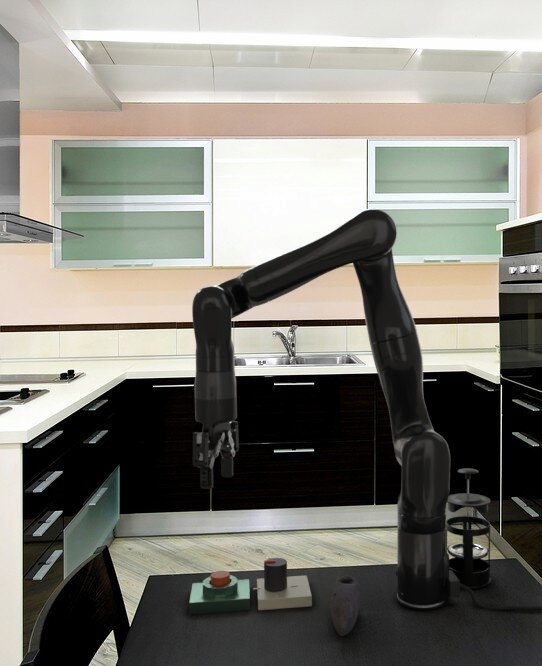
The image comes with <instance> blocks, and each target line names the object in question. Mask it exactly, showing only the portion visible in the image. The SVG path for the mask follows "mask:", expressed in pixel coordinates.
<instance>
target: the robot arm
mask: <svg viewBox="0 0 542 666" xmlns="http://www.w3.org/2000/svg"><path fill="white" fill-rule="evenodd" d="M397 235H398V229H397V225H396V222H395V221H394V219H393V218H392V217H391V216H390V214H388V213H386V211H383V210H381V209H377V208H367V209H363V210H360V211H358V212H357V213H355V214H354V215H353V216H352V217H351V218H350V219H349V220H347V221H346V222H344V223H343V224H341V225H340V226H339V227H338V226H337V228H335V229H333V230H332V231H330V232H328V233H327V234H325V235H323V236H321V237H319V238H317V239H315V240H313V241H312V242H309V243H307V244H304V245H302V246H299V247H297V248H294V249H291V250H289V251H287V252H283V253H281V254H279V255H276V256H274V257H272V258H270V259H267V260H265V261H262V262H260V263H258V264H256V265H254V266H252V267H250V268H248V269H245V270H244V271H243V272H241V273H240V274H239V275H237V276H235V277H233V278H230V279H228V280H226V281H224V282H221V283H218V284H216V285H206V286H204V287H202V288H200V289H199V290H198V291H197V292H196V293H195V294H194V297H193V299H192V304H191V312H192V313H191V314H192V316H191V317H192V326H193V333H194V340H195V377H194V418H195V421H196V423H200V424H201V425H202V429H201V432H198V431H197V432H196V431H195V432H193V433H192V467H194V468H195V467H197V468H199V487H200V489H203V490H211V489H214V463H215V459H216V458H218V457H219V455H220V456H221V457H220V475H221V477H222V478H228V479H229V478H232V477H234V457H235V456H236V452H239V450H240V442H239V441H240V440H239V422H238V420H237V418H238V398H237V396H238V395H237V394H238V393H237V391H238V390H237V377H236V365H235V364H236V363H235V361H236V359H235V346H234V342H233V340H232V338H233V337H232V320H233V319H234V318H236V317H238V316H240V315H242V314H244V313H245V312H246V313H247V312H248V311H249V310H251V309H253V308H255V307H259V306H262V305H265V304H267V303H270V302H271V301H274V300H276V299H278V298H281V297H282V296H285V295H287V294H289V293H291V292H293V291H295V290H297V289H299V288H301V287H303V286H305V285H306V284H308V283H310V282H312V281H314V280H315V279H317V278H318V279H319V277H322V276H324V275H325V274H327V273H328V274H329V272H332V271H335V270H338V269H339V268H342V267H345V266H347V265H351V264H352V265H353V268H354V271H355V274H356V277H357V280H358V284H359V287H360V292H361V298H362V307H363V313H364V314H363V315H364V322H365V327H366V332H367V336H368V342H369V346H370V350H371V355H372V358H373V362H374V366H375V369H376V372H377V376H378V380H379V383H380V387H381V389H382V392H383V396H384V398H385V401H386V405H387V409H388V414H389V421H390V429H391V437H392V445H393V452H394V456H395V459H396V461H397V462H398V464H399V465H400V466H401V484H400V493H399V495H398V497H397V500H396V501H397V504H396V506H397V508H396V509H397V510H396V511H397V554H396V555H397V558H396V559H397V561H396V562H397V563H396V564H397V569H396V571H395V577H396V578H397V580H396V581H397V582H396V584H397V585H396V586H397V587H396V592H397V593H396V600H397V602H398V603H399V604H400V605H401V606H403V607H405V608H408V609H412V610H419V611H431V610H435V609H439V608H441V607H443V606H446V605H447V606H448V605H450V599H451V598H452V599H454V598H461V590H464V591H466V592H467V593H469V595H470V597H471V601H472V603H473V604H474V605H475V606H477V607H478V608H481V609H485V610H493V611H542V605H500V606H497V605H496V606H493V605H492V606H491V605H486V604H483V603H482V602H480V601H478V599H477V598H476V594H475V592H474V590H471V589H470V588H468V587H467V586H465V585H463V584H460V581H459V579H458V578H457V577H456V576H455V574H454V573H453V572H452V571H451V570H449V559H450V554H449V553H448V551H447V552H446V520H447V504H448V502H447V500H448V497H449V495H450V479H451V453H450V448H449V445H448V442H447V440H445V438H444V437H443V436H442V435H440V434H439V433H437V432H436V431H435V430H434V427H433V425H432V422H431V420H430V419H431V418H430V416H429V413H428V409H427V406H426V403H425V397H424V359H423V352H422V347H421V343H420V339H419V333H418V331H417V326H416V323H415V319H414V317H413V315H412V312H411V310H410V306H409V305H408V303H407V300H406V298H405V296H404V294H403V291H402V289H401V287H400V283H399V281H398V276H397V272H396V266H395V261H394V254H393V247H394V246H395V244H396V241H397V238H398V237H397ZM460 588H462V589H460Z"/></svg>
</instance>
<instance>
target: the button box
mask: <svg viewBox="0 0 542 666" xmlns="http://www.w3.org/2000/svg"><path fill="white" fill-rule="evenodd" d="M250 589H251V588H250V579H248V578H247V579H238V577H236V576H234V575H231V574H230V583H229V584H227V585H223V586H214V585H211V576H208V577H207V578H204V580H202V582H192V584H191V590H190V595H189V601H188V609H189V610H188V612H189V613H188V614H189V615H199V614H212V613H224V612H225V613H226V612H237V611H250V610H251V591H250Z"/></svg>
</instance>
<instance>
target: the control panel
mask: <svg viewBox="0 0 542 666" xmlns="http://www.w3.org/2000/svg"><path fill="white" fill-rule="evenodd" d="M252 589H253V590H254V591H255V590H256V596H257V610H258V611H267V610H278V609H280V610H281V609H291V608H306V607H313V595H312V591H311V588H310V584H309V580H308V575H305V574H304V575H293V576H291V575H290V576H287V588H286V589H285V590H283V591H279V592H270V591H267V590H265V589H264V577H263V578H261V577H260V578H256V587H253V588H252Z"/></svg>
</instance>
